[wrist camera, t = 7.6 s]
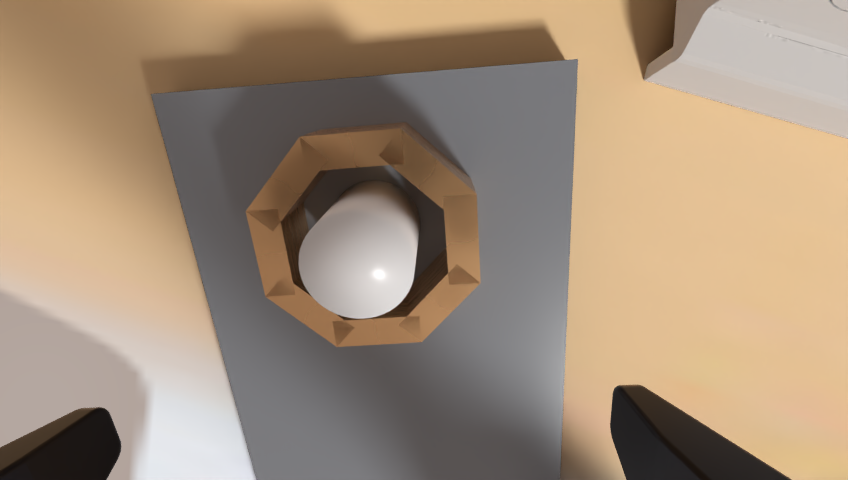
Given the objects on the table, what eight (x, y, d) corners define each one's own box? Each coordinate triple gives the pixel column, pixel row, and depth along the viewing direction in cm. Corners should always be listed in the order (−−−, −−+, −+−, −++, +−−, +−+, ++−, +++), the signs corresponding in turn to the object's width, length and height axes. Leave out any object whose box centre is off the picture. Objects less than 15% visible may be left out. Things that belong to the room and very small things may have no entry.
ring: (476, 304, 16) (483, 338, 14) (299, 315, 17) (277, 350, 14) (467, 116, 14) (473, 121, 12) (261, 134, 14) (229, 142, 12)
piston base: (549, 549, 22) (581, 677, 18) (291, 555, 23) (252, 680, 18) (567, 61, 14) (633, 47, 10) (172, 93, 15) (46, 95, 10)
